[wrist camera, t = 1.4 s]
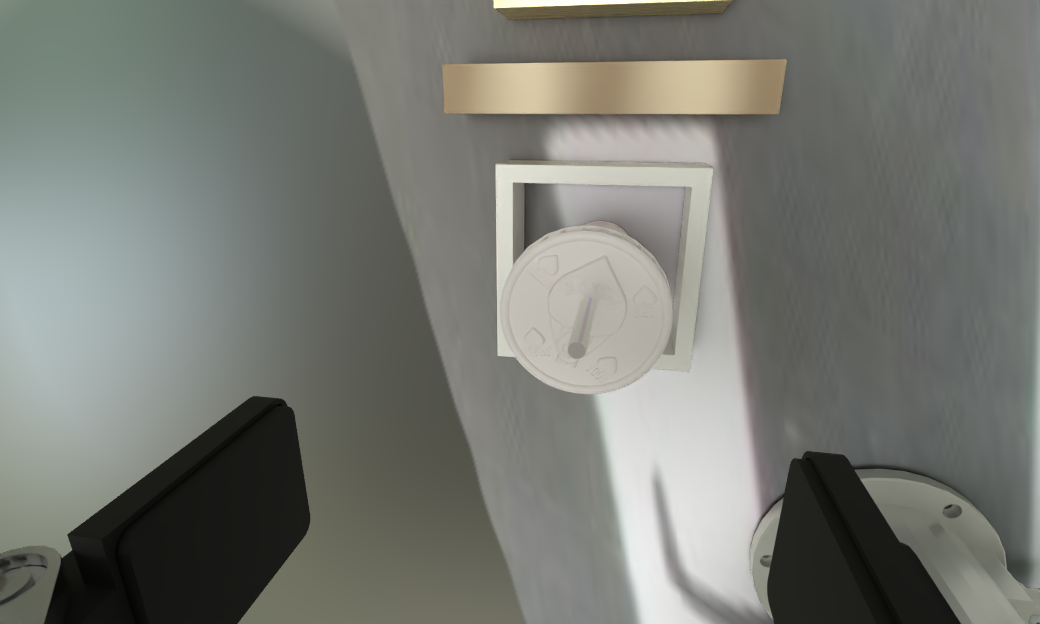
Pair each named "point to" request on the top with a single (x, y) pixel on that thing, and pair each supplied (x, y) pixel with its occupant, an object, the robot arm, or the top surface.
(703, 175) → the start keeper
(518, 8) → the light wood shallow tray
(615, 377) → the smoothie
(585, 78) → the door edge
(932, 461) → the top surface
